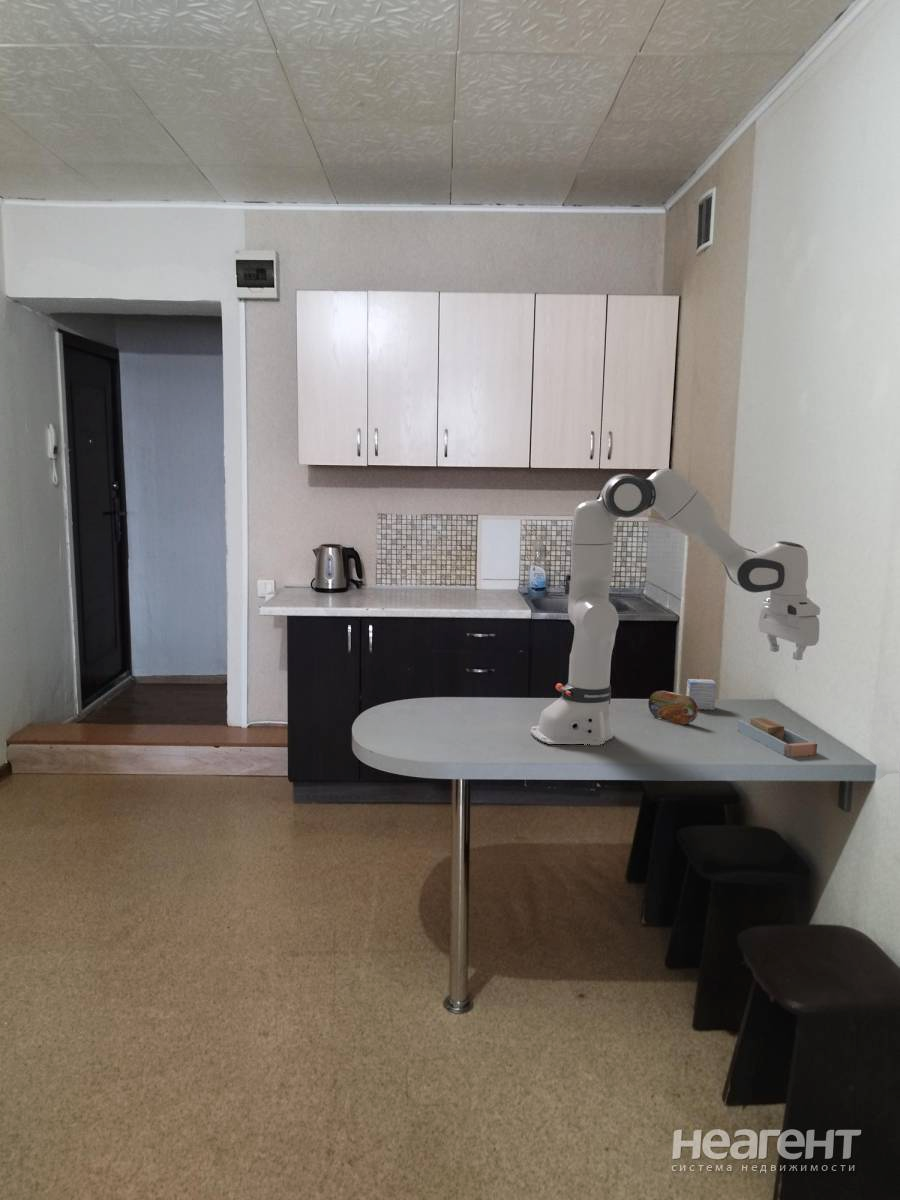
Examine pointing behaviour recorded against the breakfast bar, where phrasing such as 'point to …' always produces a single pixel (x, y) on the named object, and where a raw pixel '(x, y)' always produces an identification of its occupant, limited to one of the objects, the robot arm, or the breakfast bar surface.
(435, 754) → the breakfast bar surface
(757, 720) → the tan block
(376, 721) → the breakfast bar surface
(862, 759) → the breakfast bar surface
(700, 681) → the medicine box
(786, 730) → the trap channel
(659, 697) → the tin
